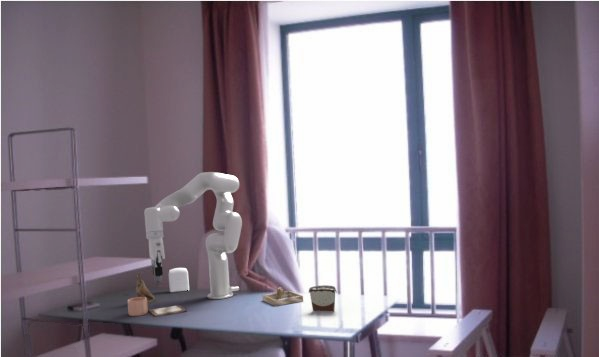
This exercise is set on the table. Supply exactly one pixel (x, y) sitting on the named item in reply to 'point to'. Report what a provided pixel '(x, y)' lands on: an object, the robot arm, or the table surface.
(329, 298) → the food container
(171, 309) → the picture frame
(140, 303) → the pen cup
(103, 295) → the table surface
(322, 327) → the table surface
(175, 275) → the photo printer
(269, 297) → the artifact tray
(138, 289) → the brown carved statuette
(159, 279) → the marker
